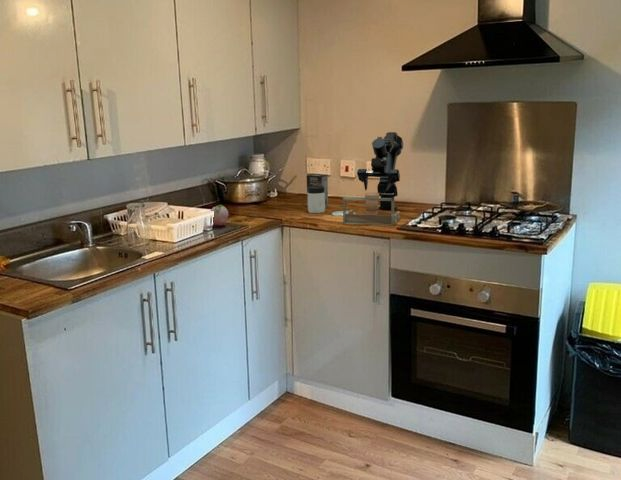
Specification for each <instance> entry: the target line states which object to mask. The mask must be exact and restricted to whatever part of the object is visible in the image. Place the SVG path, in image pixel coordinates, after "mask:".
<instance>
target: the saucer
mask: <svg viewBox="0 0 621 480" xmlns="http://www.w3.org/2000/svg"><path fill="white" fill-rule="evenodd" d="M349 211H350V210H346V213H348V212H349ZM354 214H356V212H355V211H354ZM331 216H333V217H338V216H342V217H343V210H337V211H333V212H331Z"/></svg>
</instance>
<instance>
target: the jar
mask: <svg viewBox="0 0 621 480" xmlns="http://www.w3.org/2000/svg"><path fill="white" fill-rule="evenodd" d="M307 189H308V207H307V211H308V213H309V214H321V213H322V214H323V213H325V212H326V207H325V193H324V192H325V191H324V190H325V189H324V186H309V187H307V186H306V190H307Z"/></svg>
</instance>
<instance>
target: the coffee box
mask: <svg viewBox="0 0 621 480" xmlns="http://www.w3.org/2000/svg"><path fill="white" fill-rule="evenodd" d="M328 177H329V175H328V174H322V173H320V174H319V173H310V174H307V175H306V207H307V208H308V189H307V187H309V186H324V189H325V190H324V191H325V192H324V193H325V208H326V207H329V193H328V192H329V189H328V188H329V187H328V186H329V185H328V184H329V182H328V181H329V180H328Z"/></svg>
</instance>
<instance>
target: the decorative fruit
mask: <svg viewBox="0 0 621 480" xmlns="http://www.w3.org/2000/svg"><path fill="white" fill-rule="evenodd" d="M210 211H214V217H213V222H212V223H213V224H215V225H217V226H219V227H221V226H223V225H225V224H226V223H227V221H228V219H229V211H228V209H227V208H226V207H225V206H224V205H223V204H218V205H216V206H213V207H212V208H211V210H210Z"/></svg>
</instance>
